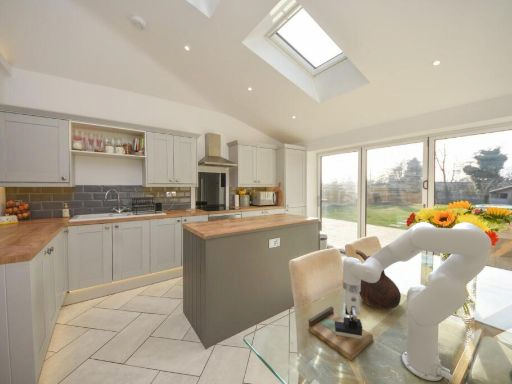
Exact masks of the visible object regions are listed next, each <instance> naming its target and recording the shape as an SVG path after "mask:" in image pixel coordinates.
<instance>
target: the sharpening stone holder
mask: <svg viewBox="0 0 512 384" xmlns="http://www.w3.org/2000/svg"><path fill="white" fill-rule="evenodd" d="M335 321H337V322H343V323H344V317H342V316H340V315H338V314H337V313H335V309H334V307H333V306H329V307H327V308H326V309H324V310H322V311H321V312H319V313H318V314H316V315H314V316H312V317H311V318H309V319H308V332H311V333H312V334H313V335H314V336H316V337H317V338H319V339H320V340H322V341H323V342H324V343H326V344H327V345H328V346H330V347H331V348H332V349H334V350H336V351H337V352H338V353H340V354H341V355H342V356H344V357H345V358H346V359H348V360H349V361H352V360H354V358H355V357H357V356H358V355H359V354H360V353H361V352H362V351H363V350H364V349H365V348H366V347H368V346H369V345H370V343H372V342H373V341H374V335H373V334H372V333H370V332H369V331H366V330H365V329H363V328H362V339H358V338H352V337H346V336H340V335H336V333H335Z"/></svg>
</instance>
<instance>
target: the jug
mask: <svg viewBox="0 0 512 384" xmlns="http://www.w3.org/2000/svg"><path fill="white" fill-rule="evenodd" d="M355 254H356V255H358V256H360V257H361V258H362V259H363V261H365V260H366V259H368V258H369V257H370V256H371V255H366V253H364V252H363V251H361V250H359V249H356V250H355ZM359 297H360V299H361V300H362V301H363V302H364V303H365V304H367V305H368V306H370V307H373V308H374V309H376V310H377V309H378V310H384V311H385V310H391V309H394V308H397V307H398V306H399V305H400V303H401V297H402V296H401V291H400V289H399V287H398V285H396V283H395V282H394V281H393V280H392V279H391V278H390V277H389V276H387V275H386V273H385V269H384V270H383V271H382V273H381V276H380V278H379V280H378V281H377V282H376V283H369V282H366V281H364V280H361V291H360V292H359Z"/></svg>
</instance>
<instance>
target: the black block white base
mask: <svg viewBox="0 0 512 384" xmlns="http://www.w3.org/2000/svg"><path fill="white" fill-rule="evenodd" d="M343 319H344V323H343V322H337V321H335V333H336V335H340V336H346V337H352V338H358V339H362V329H363V324H362V322H361V319H360V318H357V329H356V330H355V329H350V328H349V319H350V317H348V316H343Z"/></svg>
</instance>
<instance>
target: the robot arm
mask: <svg viewBox="0 0 512 384" xmlns="http://www.w3.org/2000/svg"><path fill="white" fill-rule="evenodd" d="M492 245H493V244H492V239H491V237H490V236H489V235H488V234H487V233H486V232H485V231H484V230H483V229H482V228H481V227H480V226H477V225H476V224H474V223H471V222H460V223H457V224H455V225H454V226H453V227H452V228H448V227H447V228H446V227H436V226H435V225H433V224H432V223H430V222H425V221H421V222H417V223H416V224H414V225H412V226H411V227H409V229H407V230H405V231H404V232H403V233H402V234H400V235H399V236H398V237H396V238H394V239H393V240H392V241H390V242H389V243H387V244H385V246H383V247H381V248H380V249H379V250H376V251H375V252H374V253H372V254H371V255H369V256H370V257H369V258H368V259H366V260H364V262H363V263H362V261H361V260H360V259H359V258H357V257H353V256H352V257H351V256H348V257H345V258H343V260H342V289H343V290H344V304H345V308H344V309H345V310H344V311H345V315H346V316H349V318H350V319H349V328H350V329H355V330H356V329H357V319H358V317H357V316H360V314H361V311H360V294H359V292H360V291H361V280H364V281H366V282H369V283H376V282H377V281H378V280H379V278H380V276H381V273H382V271H383V270H384V271H385V270H386V269H387V268H389V267H390V266H392V265H394V264H396V263H398V262H402V263H405V262H408V261H410V260H412V259H413V258H415V257H416V256H417V255H419V254H420V253H422V252H423V251H424V252H429V253H436V254H445V255H446V254H447V255H449V256H448V257H447V258H446V259H445V260H444V261H442V262H441V263H440V264H439V265H438V266H437V267H436V268H434V269H433V270H432V271H431V272H429V274H428V276H427V284H428V285H427V286H426V285H424V284H414V285H412V286H410V287H409V289H408V290H407V293H406V350H405V351H404V352H403V353H402V354H401V361H402V363H403V365H404V366H405V368H406V369H407V370H408V371H410V372H411V373H412V374H413V375H415V376H417V377H419V378H420V379H423V380H427V381H430V382H436V381H437V382H438V381H440V380H442V379H443V378H444V379H446V380H448V381H449V382H451V383H452V382H453V381H454V376H453V375H452V374H451V370H450V369H449V368H446V367H444V366H443V365H442V364H441V359H439V324H441V323H443V322H444V321H445V320H446V319H448V318H449V317H451V316H452V315H453V314H455V313H456V312H457V311H459V310H460V309H461V308H462V307H463V306H464V305H465V304H466V302H467V298H468V293H467V290H466V286H467V285H468V284H469V283H470V282H471V281H472V280H474V279H475V278H476V277H477V276H478V275H479V274H480V273H481V272H482V271H483V270H484V269H485V268H486V266H487V263H488V262H489V258H490V250H491V249H492Z"/></svg>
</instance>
